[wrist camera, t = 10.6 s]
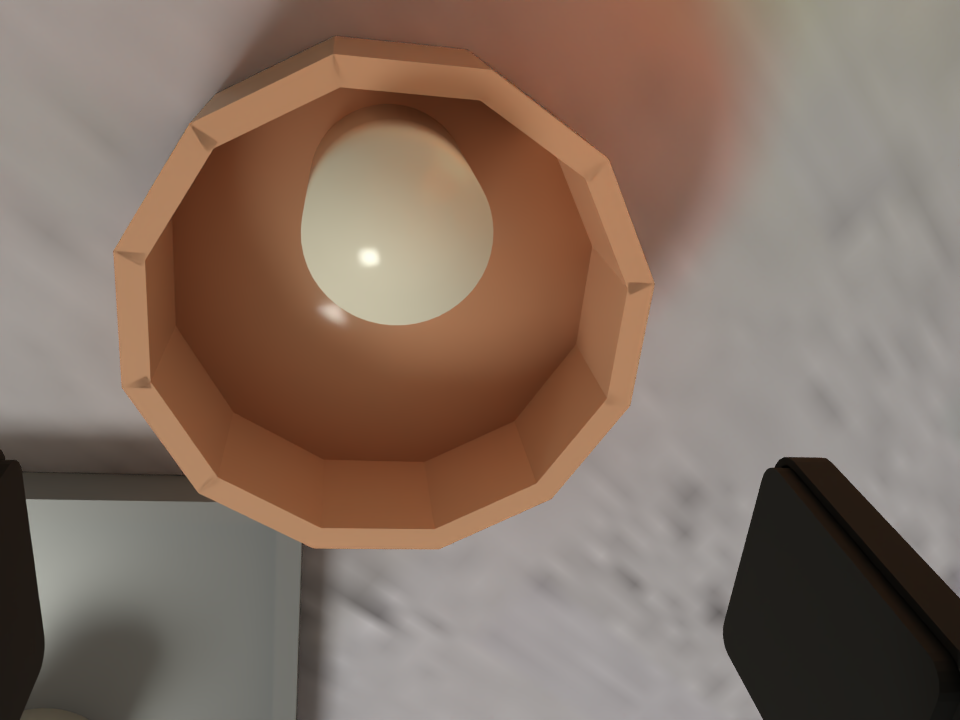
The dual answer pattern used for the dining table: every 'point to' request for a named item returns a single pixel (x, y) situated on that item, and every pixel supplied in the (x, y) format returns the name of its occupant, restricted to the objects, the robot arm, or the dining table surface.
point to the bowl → (371, 346)
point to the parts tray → (161, 602)
